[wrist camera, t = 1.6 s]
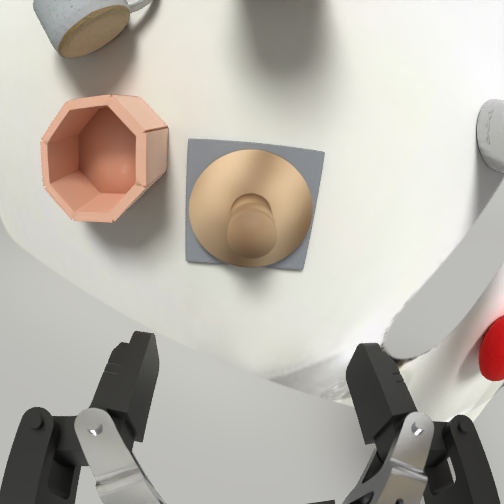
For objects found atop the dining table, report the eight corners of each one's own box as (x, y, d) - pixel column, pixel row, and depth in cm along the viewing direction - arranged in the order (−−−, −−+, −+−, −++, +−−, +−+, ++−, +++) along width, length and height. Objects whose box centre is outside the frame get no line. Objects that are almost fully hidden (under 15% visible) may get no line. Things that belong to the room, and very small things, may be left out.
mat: (323, 151, 24) (324, 152, 24) (302, 266, 30) (303, 269, 29) (189, 138, 23) (188, 139, 23) (186, 257, 29) (185, 260, 28)
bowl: (170, 95, 21) (148, 91, 16) (166, 200, 26) (147, 224, 21) (77, 103, 21) (40, 106, 15) (79, 198, 25) (48, 219, 20)
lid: (318, 157, 24) (340, 170, 18) (299, 264, 29) (311, 302, 23) (193, 144, 23) (177, 154, 18) (190, 256, 28) (178, 292, 23)
